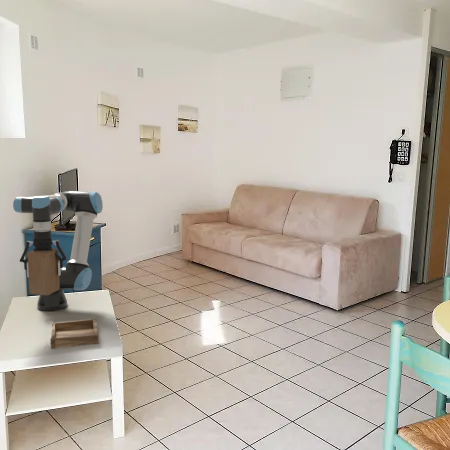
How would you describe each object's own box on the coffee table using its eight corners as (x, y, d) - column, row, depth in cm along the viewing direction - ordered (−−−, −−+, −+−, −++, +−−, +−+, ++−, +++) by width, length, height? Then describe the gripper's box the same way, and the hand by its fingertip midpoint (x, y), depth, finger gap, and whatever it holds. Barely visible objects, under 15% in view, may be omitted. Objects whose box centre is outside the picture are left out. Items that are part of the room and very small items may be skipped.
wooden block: (48, 296, 215) (46, 253, 211) (28, 294, 217) (26, 251, 213) (60, 289, 224) (59, 248, 221) (41, 287, 227) (39, 246, 223)
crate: (52, 330, 225) (51, 322, 224) (96, 326, 231) (95, 318, 230) (50, 348, 206) (50, 339, 205) (98, 343, 212) (98, 335, 211)
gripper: (11, 232, 209) (13, 279, 212) (70, 231, 215) (72, 276, 219) (13, 229, 216) (16, 274, 219) (71, 228, 222) (72, 272, 226)
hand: (44, 275), depth 219 cm, fingers closed on wooden block, 13 cm apart
